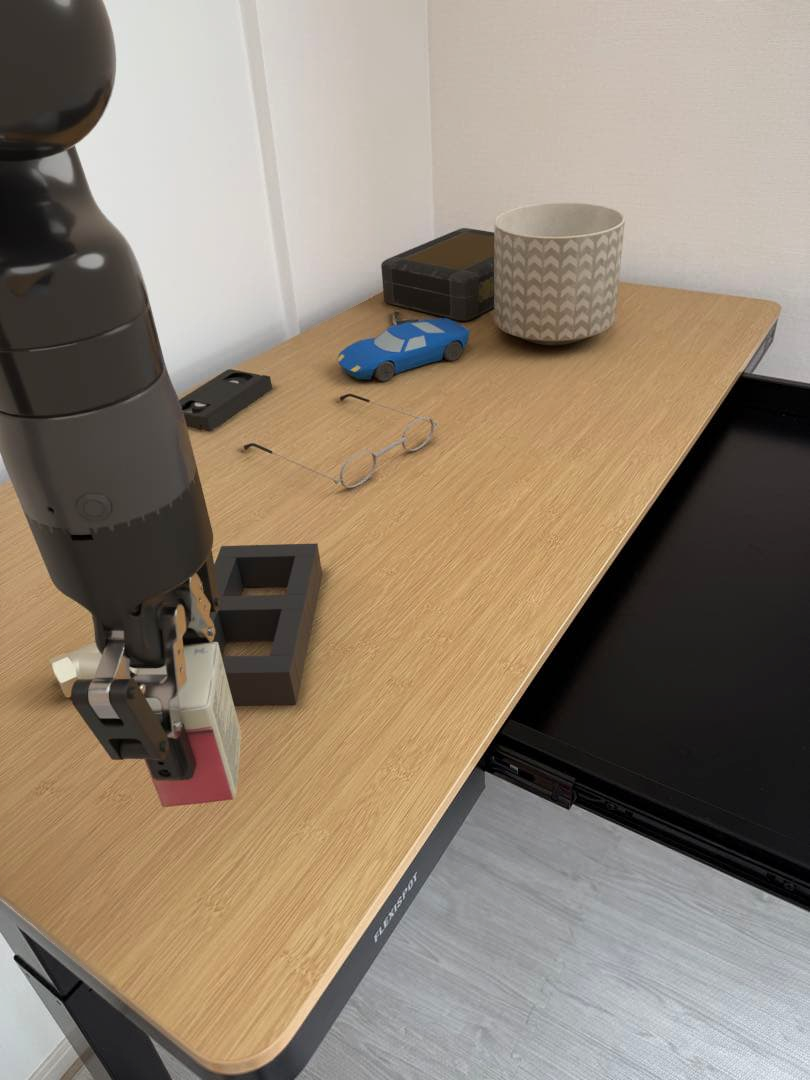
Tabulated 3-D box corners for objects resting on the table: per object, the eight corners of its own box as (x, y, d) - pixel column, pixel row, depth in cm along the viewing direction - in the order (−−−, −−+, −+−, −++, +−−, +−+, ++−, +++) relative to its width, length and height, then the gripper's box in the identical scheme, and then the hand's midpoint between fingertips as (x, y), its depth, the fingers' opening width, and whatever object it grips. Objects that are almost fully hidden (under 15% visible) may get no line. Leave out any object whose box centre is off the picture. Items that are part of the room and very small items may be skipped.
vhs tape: (231, 380, 122) (228, 368, 121) (272, 388, 119) (270, 376, 118) (167, 421, 112) (164, 408, 111) (210, 431, 109) (207, 418, 108)
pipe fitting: (170, 688, 71) (143, 642, 75) (161, 659, 68) (133, 614, 72) (81, 731, 67) (58, 681, 72) (67, 702, 65) (45, 652, 69)
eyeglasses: (341, 498, 93) (336, 469, 91) (243, 453, 104) (237, 426, 102) (441, 437, 103) (439, 409, 101) (342, 403, 115) (338, 377, 112)
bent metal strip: (426, 314, 136) (407, 323, 133) (427, 322, 136) (407, 331, 134) (395, 307, 140) (375, 315, 137) (396, 315, 141) (376, 323, 138)
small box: (173, 740, 49) (141, 646, 44) (243, 733, 49) (218, 638, 44) (160, 811, 45) (123, 715, 40) (237, 802, 45) (208, 706, 40)
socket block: (296, 704, 68) (289, 672, 65) (183, 706, 68) (172, 673, 66) (322, 573, 82) (317, 542, 80) (228, 576, 83) (221, 545, 80)
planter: (632, 351, 121) (645, 228, 110) (511, 366, 120) (513, 243, 109) (589, 308, 136) (598, 197, 126) (482, 321, 135) (481, 209, 124)
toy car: (330, 369, 123) (326, 338, 120) (442, 337, 131) (441, 307, 128) (358, 391, 116) (355, 359, 113) (474, 355, 124) (473, 324, 121)
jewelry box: (460, 265, 160) (459, 225, 156) (546, 281, 149) (548, 239, 144) (378, 303, 145) (374, 260, 141) (466, 324, 134) (465, 279, 130)
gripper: (86, 403, 41) (163, 643, 51) (-58, 577, 29) (78, 844, 39) (229, 399, 40) (279, 642, 50) (139, 574, 29) (227, 846, 39)
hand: (190, 730), depth 45 cm, fingers closed on small box, 5 cm apart
